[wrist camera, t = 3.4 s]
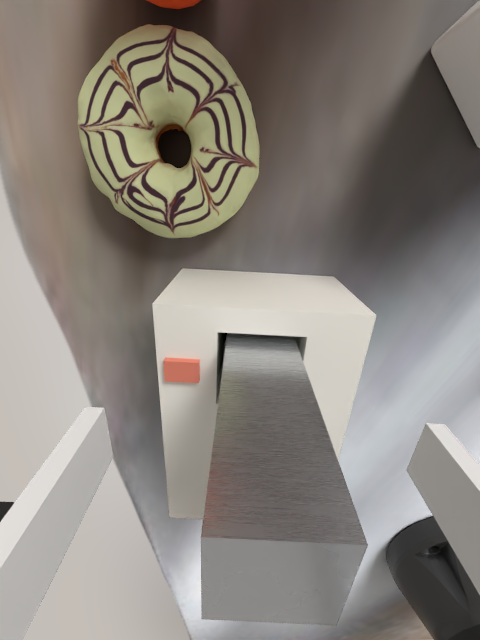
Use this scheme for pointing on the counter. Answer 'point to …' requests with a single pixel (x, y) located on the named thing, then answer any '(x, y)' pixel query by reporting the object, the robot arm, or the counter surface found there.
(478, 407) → the counter surface
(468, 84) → the medicine bottle
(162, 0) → the clementine
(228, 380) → the upper square grey bar
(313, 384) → the housing
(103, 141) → the decorated donut
